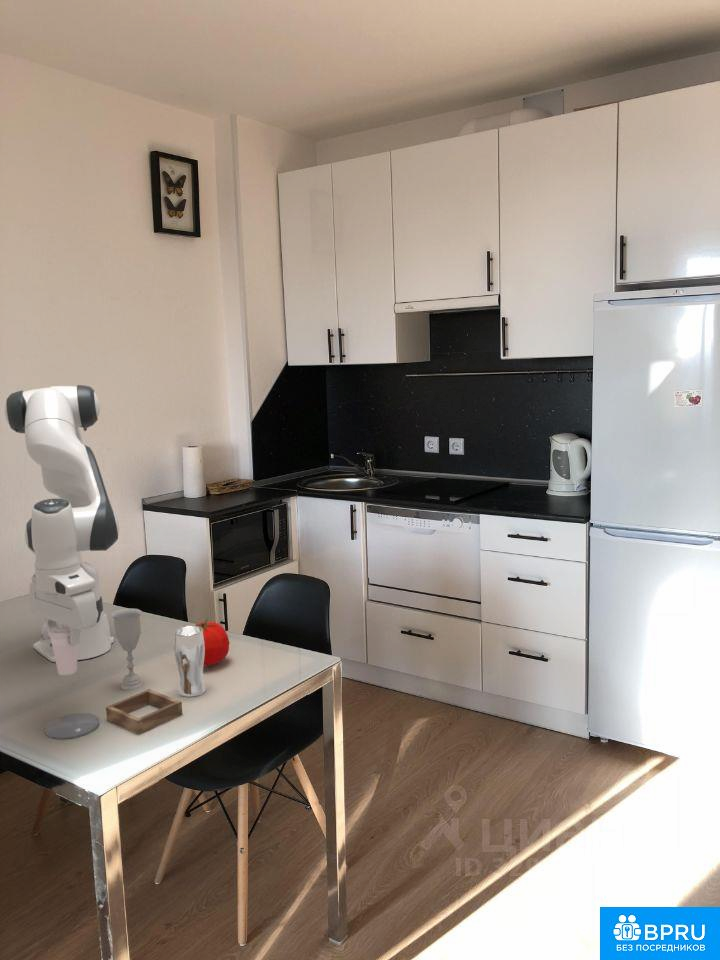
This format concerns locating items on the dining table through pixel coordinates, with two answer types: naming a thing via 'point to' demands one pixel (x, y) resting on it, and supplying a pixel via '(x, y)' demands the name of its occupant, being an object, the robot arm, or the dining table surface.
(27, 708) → the dining table surface
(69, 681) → the dining table surface
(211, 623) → the tomato
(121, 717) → the wooden serving tray
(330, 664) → the dining table surface
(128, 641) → the chalice
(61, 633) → the smoothie
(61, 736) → the disc
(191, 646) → the beer glass
